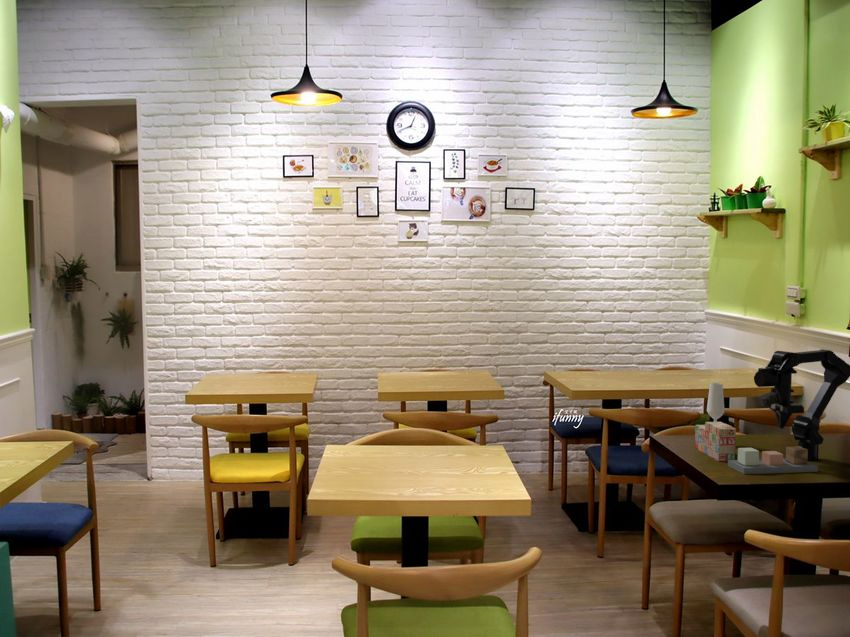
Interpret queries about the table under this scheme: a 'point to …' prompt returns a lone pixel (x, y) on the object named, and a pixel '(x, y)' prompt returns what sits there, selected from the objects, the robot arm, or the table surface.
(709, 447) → the stack of blocks
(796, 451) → the walnut key
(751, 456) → the pale green cube
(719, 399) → the champagne flute
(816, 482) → the table surface
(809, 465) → the key board
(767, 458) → the salmon pink cube
